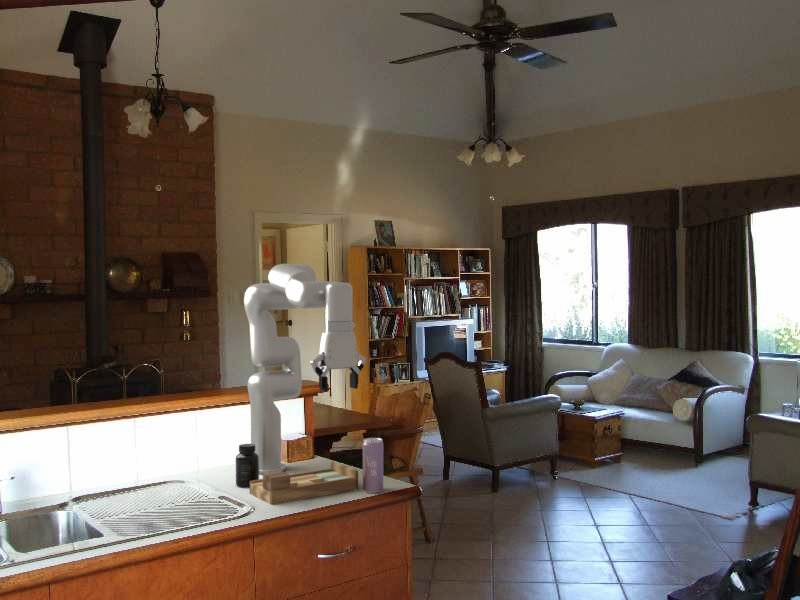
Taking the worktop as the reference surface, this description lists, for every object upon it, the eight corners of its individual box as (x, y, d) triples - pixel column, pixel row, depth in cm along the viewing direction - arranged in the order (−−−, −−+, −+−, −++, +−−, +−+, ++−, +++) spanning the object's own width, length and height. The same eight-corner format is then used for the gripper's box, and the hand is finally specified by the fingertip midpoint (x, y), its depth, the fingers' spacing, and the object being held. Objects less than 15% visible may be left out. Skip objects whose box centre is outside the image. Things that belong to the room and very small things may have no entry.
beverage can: (384, 488, 240) (384, 437, 239) (381, 494, 234) (382, 442, 233) (364, 488, 240) (364, 437, 240) (361, 493, 234) (361, 441, 234)
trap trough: (249, 493, 234) (249, 474, 234) (333, 479, 250) (333, 461, 250) (271, 504, 223) (271, 484, 222) (358, 489, 239) (358, 470, 239)
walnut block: (262, 488, 228) (262, 474, 228) (282, 485, 232) (282, 471, 232) (270, 492, 224) (270, 477, 224) (290, 489, 228) (290, 474, 227)
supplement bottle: (263, 484, 245) (263, 444, 244) (248, 489, 239) (248, 448, 238) (246, 481, 248) (246, 441, 248) (230, 486, 242) (230, 445, 242)
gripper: (358, 325, 232) (357, 385, 233) (304, 327, 222) (304, 390, 223) (372, 327, 226) (372, 388, 227) (318, 329, 216) (318, 393, 217)
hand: (338, 389), depth 225 cm, fingers open, 9 cm apart
